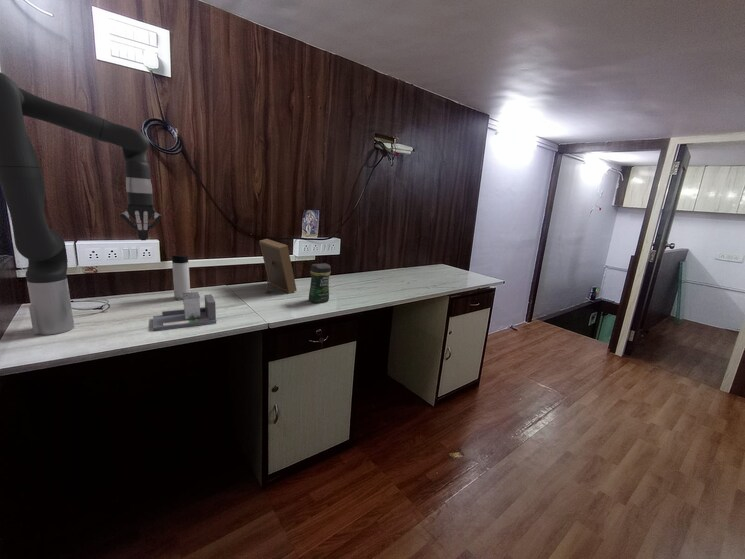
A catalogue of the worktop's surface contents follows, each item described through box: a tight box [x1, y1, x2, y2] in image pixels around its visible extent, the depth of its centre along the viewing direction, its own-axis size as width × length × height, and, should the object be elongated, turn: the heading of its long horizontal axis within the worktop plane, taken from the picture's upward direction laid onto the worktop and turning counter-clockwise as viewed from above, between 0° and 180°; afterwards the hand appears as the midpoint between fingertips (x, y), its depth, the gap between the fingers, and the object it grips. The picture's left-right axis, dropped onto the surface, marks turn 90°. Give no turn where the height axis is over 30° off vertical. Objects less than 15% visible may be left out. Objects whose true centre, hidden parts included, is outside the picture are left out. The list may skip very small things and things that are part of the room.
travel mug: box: [171, 254, 191, 301], centre depth 145 cm, size 6×7×20 cm
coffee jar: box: [308, 262, 332, 304], centre depth 159 cm, size 10×8×19 cm
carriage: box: [182, 291, 201, 320], centre depth 123 cm, size 5×9×9 cm, turn 33°
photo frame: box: [258, 238, 297, 294], centre depth 170 cm, size 15×22×25 cm
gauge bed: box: [152, 294, 217, 332], centre depth 123 cm, size 20×12×8 cm, turn 123°
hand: (143, 240), depth 121 cm, fingers closed
